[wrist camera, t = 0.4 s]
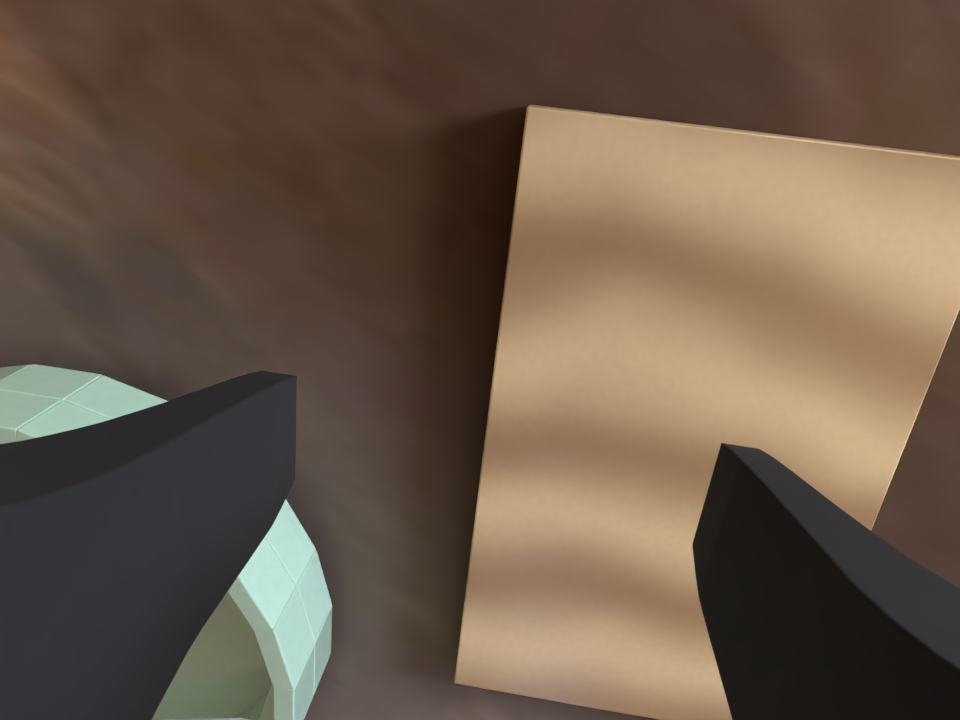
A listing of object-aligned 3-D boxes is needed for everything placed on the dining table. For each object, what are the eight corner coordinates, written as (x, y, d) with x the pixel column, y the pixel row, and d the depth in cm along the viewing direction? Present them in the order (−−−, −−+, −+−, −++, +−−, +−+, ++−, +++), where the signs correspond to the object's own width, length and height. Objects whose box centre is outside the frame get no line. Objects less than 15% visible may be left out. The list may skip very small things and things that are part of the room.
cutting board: (777, 714, 26) (787, 743, 24) (458, 658, 26) (453, 683, 25) (990, 160, 18) (1018, 165, 17) (529, 104, 19) (526, 105, 18)
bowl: (331, 780, 30) (293, 893, 26) (-66, 705, 31) (-163, 801, 27) (344, 402, 23) (294, 473, 19) (-172, 323, 24) (-326, 374, 20)
